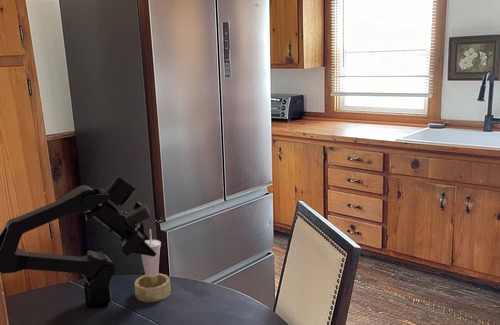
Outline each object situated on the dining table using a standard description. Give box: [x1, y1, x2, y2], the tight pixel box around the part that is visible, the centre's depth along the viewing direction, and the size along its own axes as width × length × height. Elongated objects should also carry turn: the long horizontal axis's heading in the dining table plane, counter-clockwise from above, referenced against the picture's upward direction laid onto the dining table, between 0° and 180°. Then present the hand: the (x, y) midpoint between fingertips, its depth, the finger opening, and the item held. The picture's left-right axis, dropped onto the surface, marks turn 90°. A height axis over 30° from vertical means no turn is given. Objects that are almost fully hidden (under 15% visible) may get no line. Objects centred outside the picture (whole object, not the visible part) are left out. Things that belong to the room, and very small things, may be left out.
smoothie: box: [140, 228, 162, 277], centre depth 136 cm, size 6×6×14 cm
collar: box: [134, 272, 171, 303], centre depth 139 cm, size 10×10×4 cm
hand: (154, 250), depth 137 cm, fingers closed on smoothie, 6 cm apart
